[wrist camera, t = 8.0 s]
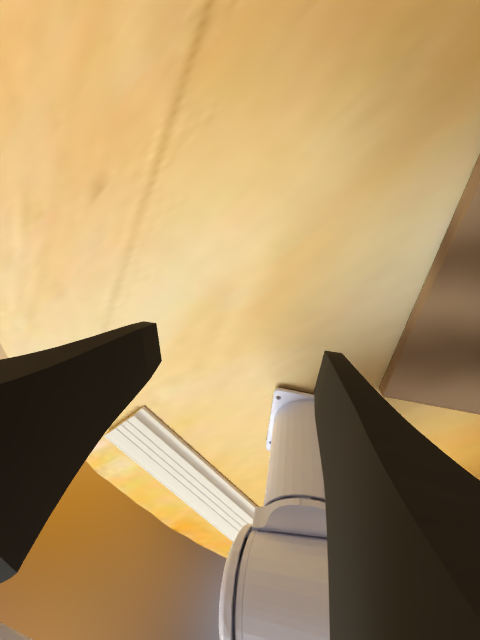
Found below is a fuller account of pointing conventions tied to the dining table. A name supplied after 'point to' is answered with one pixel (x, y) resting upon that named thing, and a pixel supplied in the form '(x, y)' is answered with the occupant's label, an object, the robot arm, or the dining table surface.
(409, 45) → the dining table surface
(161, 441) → the baseboard molding
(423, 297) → the brown slab
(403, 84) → the dining table surface
